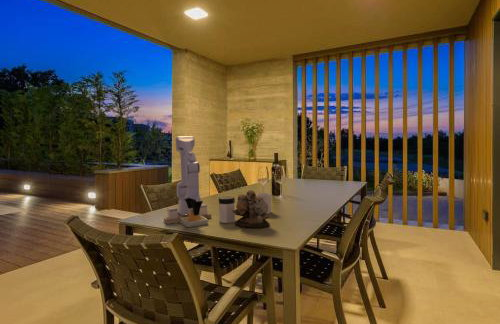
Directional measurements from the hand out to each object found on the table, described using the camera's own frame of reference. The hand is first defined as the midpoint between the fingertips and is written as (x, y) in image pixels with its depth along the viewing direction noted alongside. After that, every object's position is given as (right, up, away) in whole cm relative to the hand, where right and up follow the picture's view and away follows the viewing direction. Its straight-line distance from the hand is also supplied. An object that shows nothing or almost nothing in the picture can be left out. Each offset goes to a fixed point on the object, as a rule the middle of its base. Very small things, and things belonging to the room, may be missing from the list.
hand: (193, 213), depth 152 cm
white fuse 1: (-12, -5, +5) cm, 13 cm away
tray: (0, -5, 0) cm, 5 cm away
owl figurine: (+28, -5, -5) cm, 29 cm away
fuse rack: (-5, -5, +9) cm, 11 cm away
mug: (+34, -3, +22) cm, 40 cm away
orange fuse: (0, -4, 0) cm, 4 cm away
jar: (+16, -5, +4) cm, 17 cm away
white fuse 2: (+2, -4, +13) cm, 13 cm away
